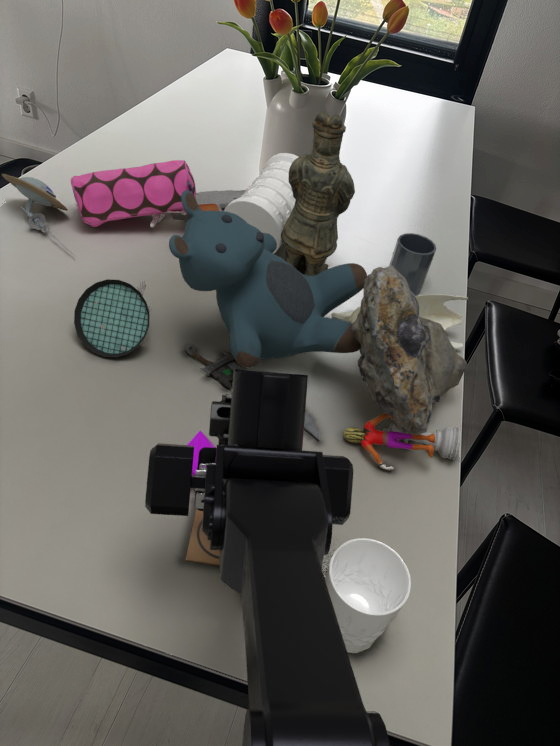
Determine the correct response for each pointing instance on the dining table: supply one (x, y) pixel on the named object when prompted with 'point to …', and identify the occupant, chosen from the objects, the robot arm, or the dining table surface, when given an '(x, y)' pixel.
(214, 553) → the square wooden coaster
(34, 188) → the toy
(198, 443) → the crystal
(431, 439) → the toy figure
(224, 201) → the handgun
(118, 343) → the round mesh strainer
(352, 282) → the stuffed animal
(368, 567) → the white cup
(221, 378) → the sword
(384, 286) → the rock
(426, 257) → the pencil cup
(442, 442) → the chess piece
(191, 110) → the dining table surface
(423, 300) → the clam shell
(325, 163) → the statue
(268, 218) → the decorative container
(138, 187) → the pencil case
